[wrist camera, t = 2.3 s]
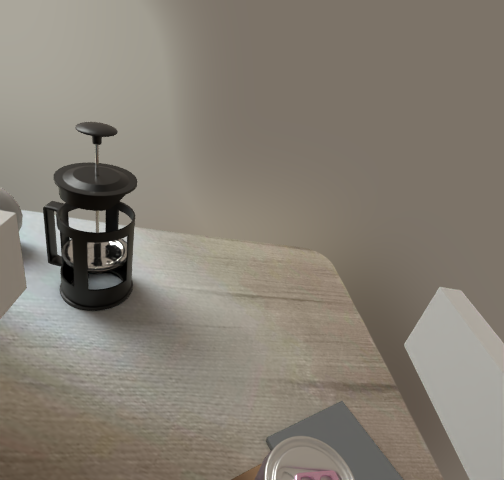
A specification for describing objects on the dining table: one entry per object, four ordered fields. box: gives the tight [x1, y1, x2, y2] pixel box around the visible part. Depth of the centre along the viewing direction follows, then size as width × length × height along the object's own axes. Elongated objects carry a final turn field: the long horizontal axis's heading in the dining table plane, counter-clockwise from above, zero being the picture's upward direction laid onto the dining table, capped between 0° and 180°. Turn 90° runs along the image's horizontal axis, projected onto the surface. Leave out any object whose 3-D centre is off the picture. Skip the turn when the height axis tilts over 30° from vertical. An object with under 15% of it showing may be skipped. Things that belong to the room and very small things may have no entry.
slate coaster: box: [266, 401, 403, 480], centre depth 36 cm, size 11×11×1 cm
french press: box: [43, 122, 137, 311], centre depth 44 cm, size 12×9×23 cm
